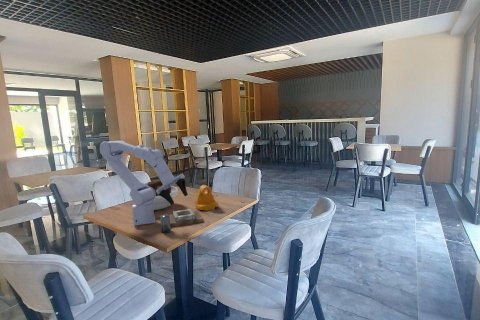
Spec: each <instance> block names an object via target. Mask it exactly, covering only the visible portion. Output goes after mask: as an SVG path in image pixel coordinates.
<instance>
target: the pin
mask: <svg viewBox="0 0 480 320" xmlns="http://www.w3.org/2000/svg"><path fill="white" fill-rule="evenodd" d="M170 215H171V214H170V213H169V214H168V213H166V214H165V213H164V214H161V215H160V216H159V218H160V219H159V221H160V222H159V223H160V233H161V234H168V233H170V232H172V229H171V228H172V227H171V225H170Z"/></svg>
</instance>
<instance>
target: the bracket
mask: <svg viewBox="0 0 480 320" xmlns="http://www.w3.org/2000/svg"><path fill="white" fill-rule="evenodd" d="M194 205H195V208H196V209H197V210H198V211H210V210H215V208H218V207H219V202H218V201H216V200H215V198H214V196H213V193H212V188H211V187H209V186H208V185H207V184H202V185H201V186H199V190H198V192H197V196H196V199H195V203H194Z"/></svg>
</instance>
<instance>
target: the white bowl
mask: <svg viewBox="0 0 480 320" xmlns="http://www.w3.org/2000/svg"><path fill="white" fill-rule="evenodd" d="M144 184H147V185H148V186H149V187H151V188H153V189H154V190H155V193H156V197H155V198H154V201H153V210H154V211H157V210H158V211H159V210H162V209H165V208H168V207H170V206H172V205H171V204H170V203H169V202H168V201H167V200H166V199H164V198H163V197H161V196H160V195H159V194H157V192H156V190H157V189H159V188H160V187H161V186H163V184H162V182H161V180H156V181H154V180H152V181H148V182H147V183H144ZM169 186H170V185H169ZM166 190H169V193H170V196H171V198H172V199H173V200H174V199H175V198H176V197H177V196H178V195H177V194H178V193H179V189H178V187H177V186H174V185H172V186H170V187H169V188H167V189H166ZM129 197H130V199H131V200H132V198H131V196H130V195H129Z"/></svg>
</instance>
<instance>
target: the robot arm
mask: <svg viewBox="0 0 480 320" xmlns="http://www.w3.org/2000/svg"><path fill="white" fill-rule="evenodd" d="M125 152H126V153H130V154H133V156H134V157H135V158H138V159H141V160H143V161H145V162H146V163H147V164H148V165H150V167H152V168H153V170H154V172H155V174H156V176H157V177H158V179H159V181H161V182H162V184H163V186H161V187H160V188H159V189H157V190H156V192H157V194H159V195H160V196H161V197H163V198H164V199H166V200H167V201H168V202H169V203H170V204H171V205H170V206H172V205H174V204H175V201H174V199H172V198H171V196H170V193H169V190H166V189H167V188H169V187H170V186H174V185H175V184H176V187H177V188H179V190H180V191H181V192H182V194H183V196H184V197H186V196H188V190H187V187H186V186H187V185H186V179H185V178H186V176H185V175H184V173H180V174H179V175H177V176H174V175H173V173H172V171H171V169H170V168H169V166H168V165H167V163H166V161H165V159H164V152H163V151H162V150H161V149H159V148H156V149H153V147H146V146H145V145H144V144H139V145H133V144H130V143H128V142H125V141H124V140H121V139H117V140H110V141H108V140H107V141H102V142H100V144H99V154H100V155H102V157H103V158H104V160H106V162H107V164H108V166H109V167H110V168H111V170H113V171H114V172H115V174H116V175H117V176H118V177H119V179H121V180H122V182H124V184H125V185H126V186H127V187H128V188H129V190H130V192H129V197H130V196H131V197H130V199H131V198H132V199H131V200H132V202H133V203H134V204H132V207H131V208H132V209H131V211H132V222H133V226H134V227H135V226H141V225H149V224H154V223H156V216H155V210H153V201H154V198H155V197H156V193H155V190H154V189H153V188H151V187H149V186H148V185H147V184H145V183H144V182H141V181H140V180H139V178H138V177H136V176H135V174H134V173H133V172H132V171H131V170H130V169H129V168H128V166H127V165H126V164H125V163H124V162H123V161H122V160H123V157H124V153H125ZM169 185H170V186H169Z"/></svg>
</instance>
